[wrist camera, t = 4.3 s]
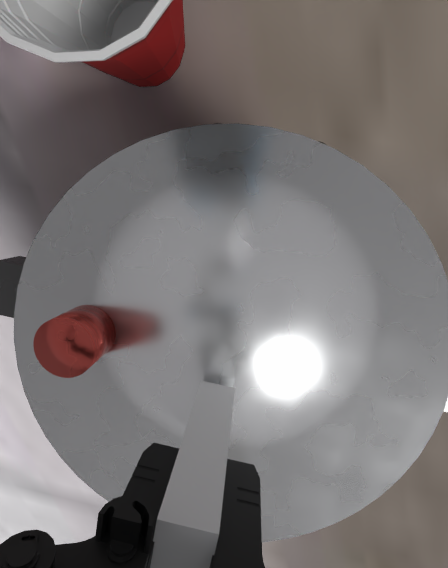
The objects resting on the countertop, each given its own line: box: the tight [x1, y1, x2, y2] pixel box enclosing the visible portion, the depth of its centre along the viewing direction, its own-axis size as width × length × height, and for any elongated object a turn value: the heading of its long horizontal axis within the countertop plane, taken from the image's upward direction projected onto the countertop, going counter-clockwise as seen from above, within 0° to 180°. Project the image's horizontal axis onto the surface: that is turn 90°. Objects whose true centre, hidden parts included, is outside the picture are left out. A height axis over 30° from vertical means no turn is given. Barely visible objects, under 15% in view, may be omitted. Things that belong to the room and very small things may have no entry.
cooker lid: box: [14, 123, 448, 542], centre depth 14 cm, size 23×19×4 cm
